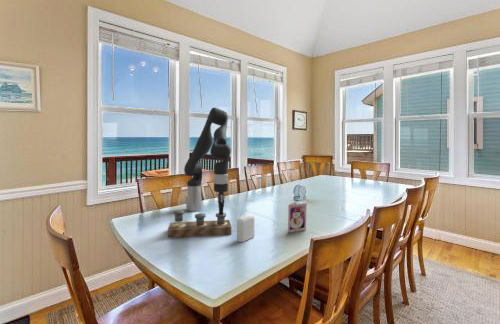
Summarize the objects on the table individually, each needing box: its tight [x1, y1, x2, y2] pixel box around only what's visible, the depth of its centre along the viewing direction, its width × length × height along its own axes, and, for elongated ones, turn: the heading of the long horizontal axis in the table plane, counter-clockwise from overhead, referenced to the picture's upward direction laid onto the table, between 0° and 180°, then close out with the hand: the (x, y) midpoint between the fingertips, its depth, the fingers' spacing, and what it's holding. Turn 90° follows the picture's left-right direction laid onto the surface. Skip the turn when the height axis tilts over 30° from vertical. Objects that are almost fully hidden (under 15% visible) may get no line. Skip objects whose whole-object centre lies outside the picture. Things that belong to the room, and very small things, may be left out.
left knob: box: [172, 209, 185, 222], centre depth 139 cm, size 6×6×5 cm
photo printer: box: [236, 213, 256, 243], centre depth 132 cm, size 10×4×12 cm, turn 140°
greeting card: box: [287, 200, 307, 234], centre depth 146 cm, size 11×7×15 cm, turn 114°
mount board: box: [167, 219, 232, 239], centre depth 141 cm, size 32×12×4 cm, turn 100°
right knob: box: [215, 212, 227, 224], centre depth 143 cm, size 6×6×5 cm
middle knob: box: [194, 213, 207, 225], centre depth 141 cm, size 6×6×5 cm
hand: (221, 214), depth 143 cm, fingers closed
